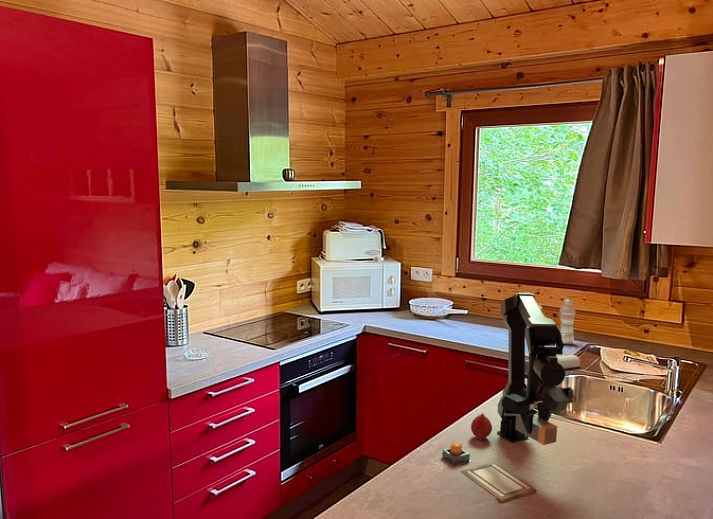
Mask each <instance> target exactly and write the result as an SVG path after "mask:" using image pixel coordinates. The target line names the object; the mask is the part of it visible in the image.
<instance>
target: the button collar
mask: <svg viewBox="0 0 713 519" xmlns="http://www.w3.org/2000/svg"><path fill="white" fill-rule="evenodd" d="M441 454H442V455H439V457H440V458H441V459H443V460H444V461H445V462H447V463H448V464H450V466H452V467H456V466H460V465H464V464H469V463H472V462H473V461H472V460H471V457H470V456H471V455H470V454H471V453H470V452H468V451H467V450H465V449H463V448H462V454H461V455H457V456H454V455H452V454H451V453H450V447H448V448H443V449H442V453H441Z"/></svg>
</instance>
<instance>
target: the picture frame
mask: <svg viewBox="0 0 713 519" xmlns="http://www.w3.org/2000/svg"><path fill="white" fill-rule="evenodd" d="M460 472H461V473H462V474H463V475H465V476H466V477H468V478H469V479H471V481H473V482H474V483H475V484H477V485H478V486H479V487H480V488H482V489H484V490H486V491H487V492H488V493H489V494H491V495H492V496H494V497H495V498H496V501H498V502H499V503H502V502H506V501H510V500H513V499H517V498H519V497H523V496H526V495H529V494H533V493H536V492H537V488H535V487H534V486H532V485H530V484H529V483H528V482H526V481H524V480H523V479H521V478H520V477H519V476H517V475H515V474H514V473H512V472H511V471H509V470H508V469H506V468H504V467H503V466H501V465H500V464H498V463H497V462H495V461H494V462H489V463H486V464H481V465H479V466H475V467H471V468H467V469H462V470H460Z"/></svg>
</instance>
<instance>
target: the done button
mask: <svg viewBox="0 0 713 519" xmlns="http://www.w3.org/2000/svg"><path fill="white" fill-rule="evenodd" d="M449 448H450V453H451V454H452V455H454V456H457V455H461V454H462V449H463V443H461V442H456V441H454V442H451V443H450V447H449Z"/></svg>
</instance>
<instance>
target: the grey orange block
mask: <svg viewBox="0 0 713 519" xmlns="http://www.w3.org/2000/svg"><path fill="white" fill-rule="evenodd" d="M515 429H516V430H517V431H519V432H521V433H523V434H525V435H527V436H528V438H531V439H532V440H534V441H536V442H537V443H539V444H541V445H543V446H546V445H551V444H554V443H557V433H558V426H557V425H555V424H553V423H552V422H549V421H548V422H547V421H545V420H543V419H541V418H539V417H538V415H536V414H535V415H534V416H533V425H532V431H531V434H529V433H527V431H526V429H525V426H524V424H523V421H522V419H521V417H520V415H519V414H517V415H516V428H515Z"/></svg>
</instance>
